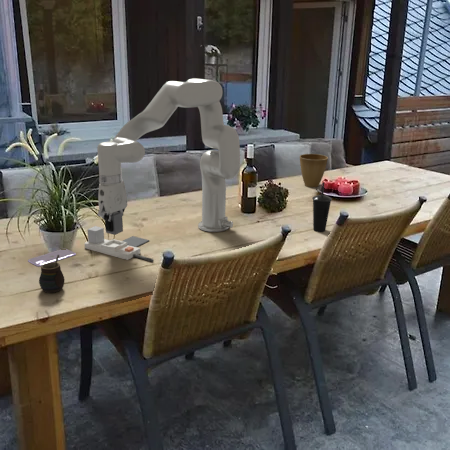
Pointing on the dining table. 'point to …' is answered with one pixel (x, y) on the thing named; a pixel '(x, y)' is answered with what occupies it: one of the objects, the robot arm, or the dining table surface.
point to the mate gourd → (51, 277)
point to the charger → (116, 223)
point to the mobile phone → (51, 257)
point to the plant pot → (312, 168)
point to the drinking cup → (320, 211)
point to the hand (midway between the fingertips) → (114, 228)
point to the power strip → (111, 245)
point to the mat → (135, 241)
